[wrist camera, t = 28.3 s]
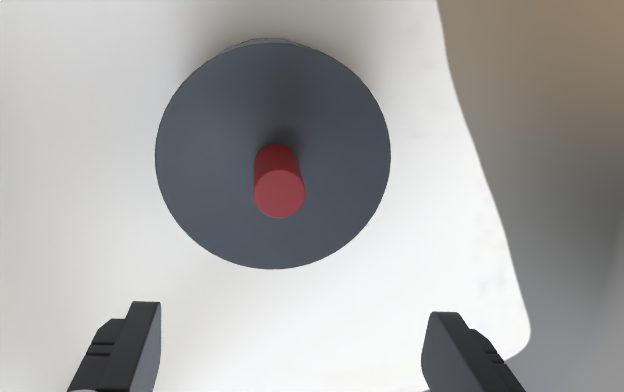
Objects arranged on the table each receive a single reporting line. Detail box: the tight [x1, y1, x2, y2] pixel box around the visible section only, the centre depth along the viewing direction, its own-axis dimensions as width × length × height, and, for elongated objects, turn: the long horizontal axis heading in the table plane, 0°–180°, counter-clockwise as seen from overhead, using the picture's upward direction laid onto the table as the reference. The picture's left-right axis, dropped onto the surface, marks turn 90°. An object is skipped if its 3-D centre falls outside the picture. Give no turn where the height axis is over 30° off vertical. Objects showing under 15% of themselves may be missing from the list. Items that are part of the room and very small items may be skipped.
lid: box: [155, 42, 391, 269], centre depth 30 cm, size 15×15×7 cm
